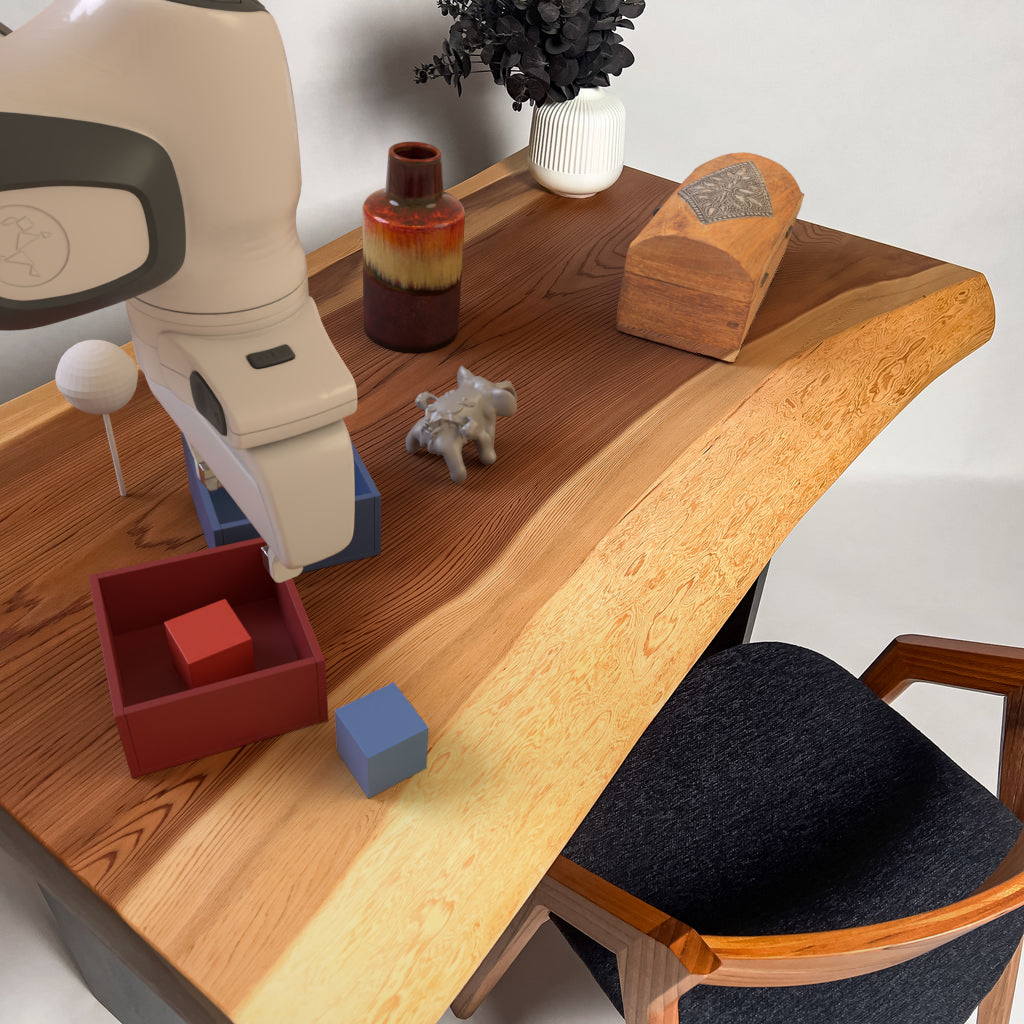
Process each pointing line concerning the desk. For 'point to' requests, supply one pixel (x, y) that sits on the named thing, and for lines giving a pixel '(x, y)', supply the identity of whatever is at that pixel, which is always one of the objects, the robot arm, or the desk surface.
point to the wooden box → (710, 253)
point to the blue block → (381, 739)
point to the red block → (209, 645)
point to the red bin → (219, 706)
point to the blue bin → (232, 526)
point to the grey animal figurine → (462, 420)
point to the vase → (412, 254)
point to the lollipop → (98, 384)
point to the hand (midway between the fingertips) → (248, 525)
